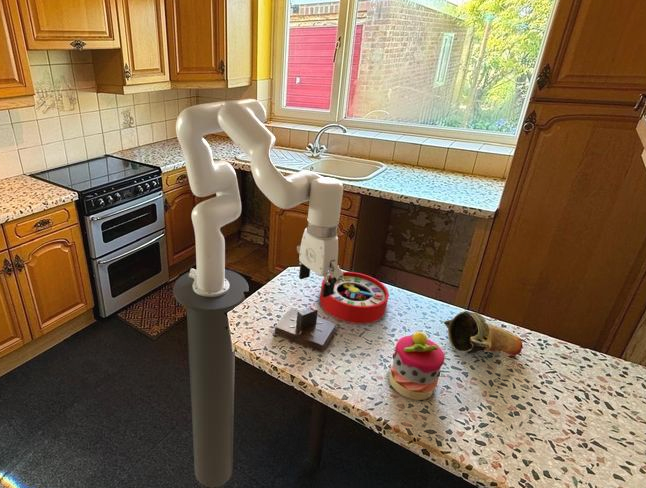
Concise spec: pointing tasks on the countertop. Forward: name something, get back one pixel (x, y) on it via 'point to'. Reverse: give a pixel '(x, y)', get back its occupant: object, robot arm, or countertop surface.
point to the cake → (416, 366)
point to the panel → (306, 331)
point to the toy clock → (356, 299)
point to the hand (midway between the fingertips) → (315, 286)
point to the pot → (480, 335)
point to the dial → (306, 317)
